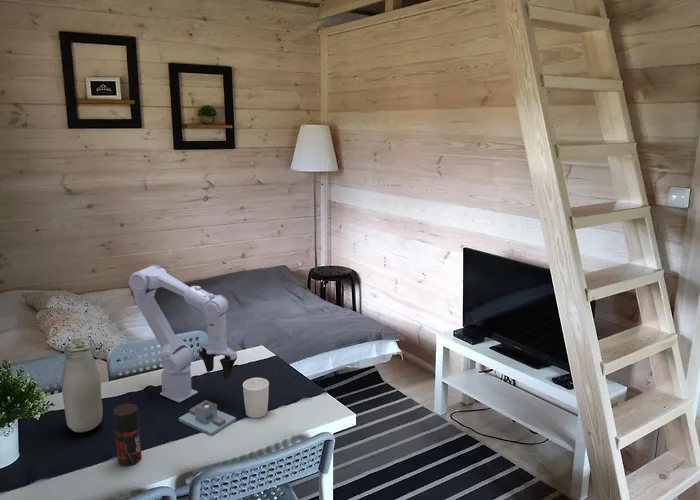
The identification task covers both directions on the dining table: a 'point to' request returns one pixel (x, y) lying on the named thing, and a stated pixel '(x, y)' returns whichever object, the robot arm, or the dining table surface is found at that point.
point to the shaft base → (211, 427)
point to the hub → (205, 412)
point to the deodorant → (127, 434)
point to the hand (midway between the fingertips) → (218, 374)
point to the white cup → (256, 397)
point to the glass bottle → (81, 387)
